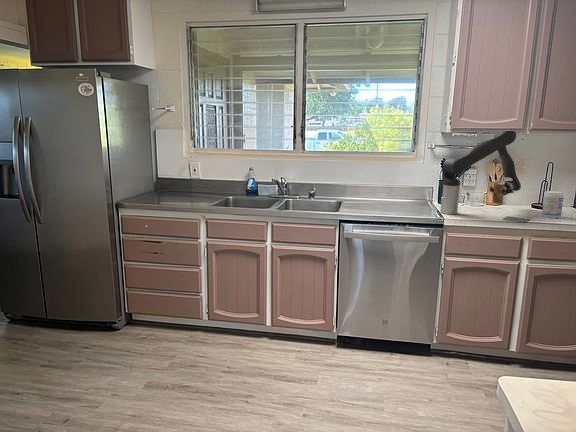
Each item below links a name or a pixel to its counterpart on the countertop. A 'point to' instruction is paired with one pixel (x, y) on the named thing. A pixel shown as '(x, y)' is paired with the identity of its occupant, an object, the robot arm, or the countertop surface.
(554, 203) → the supplement tub
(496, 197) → the walnut post
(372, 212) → the countertop surface
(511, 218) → the rubber mat
